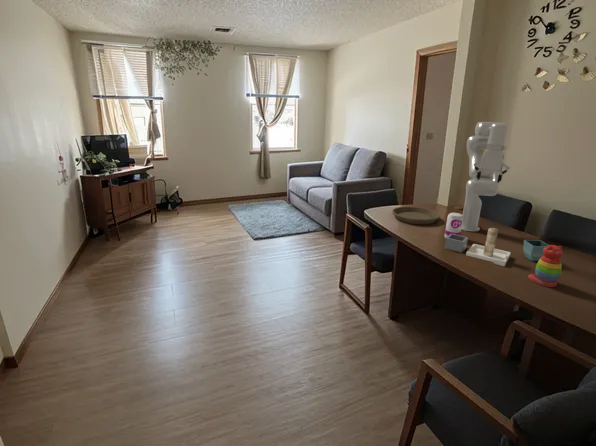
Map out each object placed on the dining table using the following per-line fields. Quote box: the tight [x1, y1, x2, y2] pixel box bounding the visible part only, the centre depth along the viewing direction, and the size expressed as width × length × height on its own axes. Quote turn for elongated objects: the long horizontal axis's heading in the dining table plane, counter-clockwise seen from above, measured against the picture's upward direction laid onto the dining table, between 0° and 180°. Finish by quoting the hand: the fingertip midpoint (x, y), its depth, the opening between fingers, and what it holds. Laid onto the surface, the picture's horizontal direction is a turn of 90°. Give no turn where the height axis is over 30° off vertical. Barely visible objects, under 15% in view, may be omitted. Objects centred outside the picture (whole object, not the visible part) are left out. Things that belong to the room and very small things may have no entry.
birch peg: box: [483, 227, 499, 257], centre depth 185 cm, size 4×4×14 cm
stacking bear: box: [527, 244, 563, 288], centre depth 159 cm, size 11×10×18 cm
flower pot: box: [522, 239, 550, 262], centre depth 184 cm, size 9×9×9 cm
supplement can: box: [443, 212, 463, 239], centre depth 208 cm, size 8×8×15 cm
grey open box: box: [443, 234, 469, 254], centre depth 194 cm, size 9×9×7 cm
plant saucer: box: [391, 206, 441, 225], centre depth 245 cm, size 31×31×5 cm
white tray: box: [465, 243, 511, 267], centre depth 187 cm, size 15×18×2 cm
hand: (488, 180), depth 192 cm, fingers open, 9 cm apart
